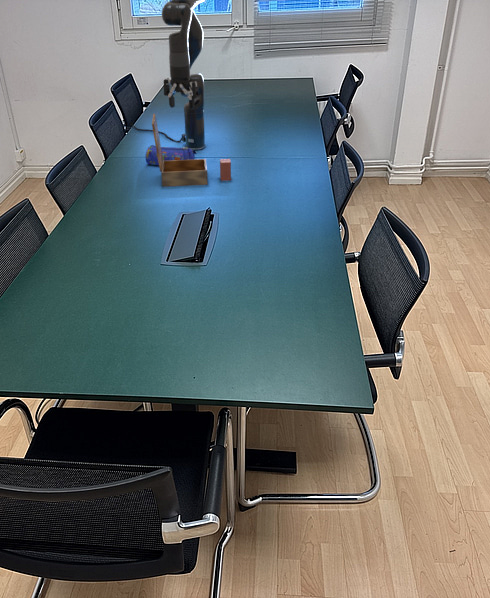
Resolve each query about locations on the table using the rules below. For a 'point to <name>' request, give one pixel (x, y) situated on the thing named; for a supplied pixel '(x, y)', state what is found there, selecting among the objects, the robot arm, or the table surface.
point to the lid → (157, 142)
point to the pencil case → (169, 154)
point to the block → (225, 169)
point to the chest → (184, 172)
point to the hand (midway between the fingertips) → (181, 108)
